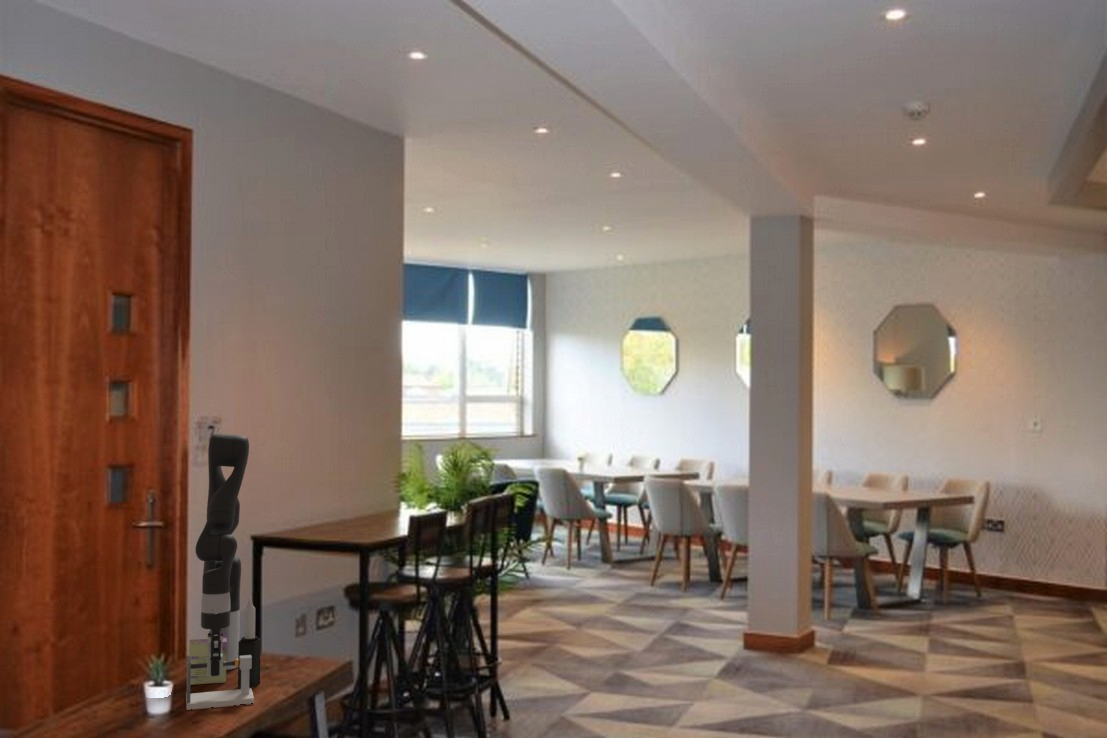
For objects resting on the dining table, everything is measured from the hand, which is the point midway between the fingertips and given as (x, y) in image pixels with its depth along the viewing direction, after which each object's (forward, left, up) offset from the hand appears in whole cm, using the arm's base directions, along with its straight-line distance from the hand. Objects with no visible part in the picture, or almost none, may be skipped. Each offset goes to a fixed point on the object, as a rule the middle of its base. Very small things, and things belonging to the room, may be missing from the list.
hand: (214, 673), depth 281 cm
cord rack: (0, +1, -8) cm, 8 cm away
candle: (-14, +10, -8) cm, 19 cm away
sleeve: (0, 0, 0) cm, 0 cm away
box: (-22, -1, -8) cm, 23 cm away
